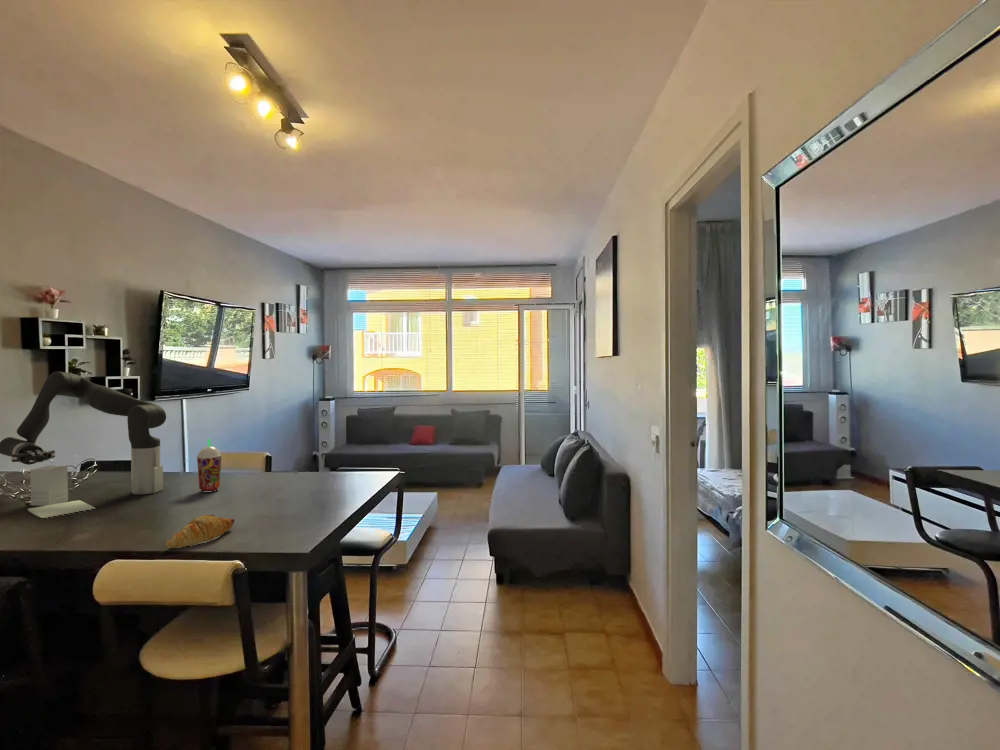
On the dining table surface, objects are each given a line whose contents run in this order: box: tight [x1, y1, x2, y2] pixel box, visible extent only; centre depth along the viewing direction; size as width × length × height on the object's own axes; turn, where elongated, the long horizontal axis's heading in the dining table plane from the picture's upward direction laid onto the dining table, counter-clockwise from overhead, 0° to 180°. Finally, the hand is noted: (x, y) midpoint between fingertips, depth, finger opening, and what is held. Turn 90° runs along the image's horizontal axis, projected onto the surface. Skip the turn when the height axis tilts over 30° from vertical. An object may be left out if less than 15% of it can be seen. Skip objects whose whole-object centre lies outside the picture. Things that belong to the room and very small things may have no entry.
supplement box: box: [29, 465, 69, 507], centre depth 187 cm, size 7×7×13 cm
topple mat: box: [27, 499, 96, 519], centre depth 179 cm, size 16×14×1 cm
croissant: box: [165, 514, 235, 549], centre depth 150 cm, size 21×10×8 cm, turn 160°
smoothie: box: [196, 438, 222, 492], centre depth 205 cm, size 8×8×20 cm
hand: (40, 459), depth 192 cm, fingers closed
